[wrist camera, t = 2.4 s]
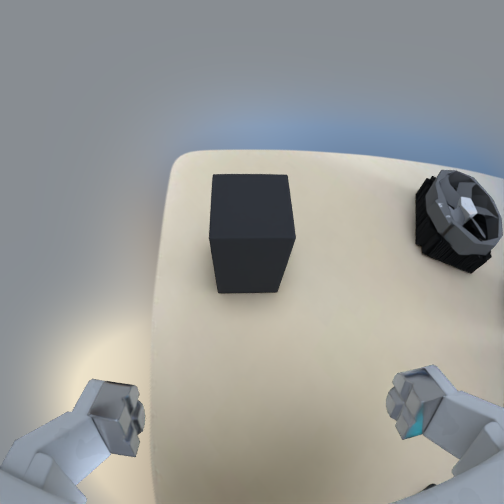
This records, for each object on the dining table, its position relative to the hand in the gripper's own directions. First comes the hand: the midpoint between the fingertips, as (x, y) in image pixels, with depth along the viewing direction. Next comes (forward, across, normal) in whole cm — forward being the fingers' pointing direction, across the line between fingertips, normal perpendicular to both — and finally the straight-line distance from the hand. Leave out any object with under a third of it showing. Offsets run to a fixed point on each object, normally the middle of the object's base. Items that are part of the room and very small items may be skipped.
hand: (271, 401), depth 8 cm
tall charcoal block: (+18, 0, +2) cm, 18 cm away
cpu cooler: (+21, -23, 0) cm, 31 cm away
